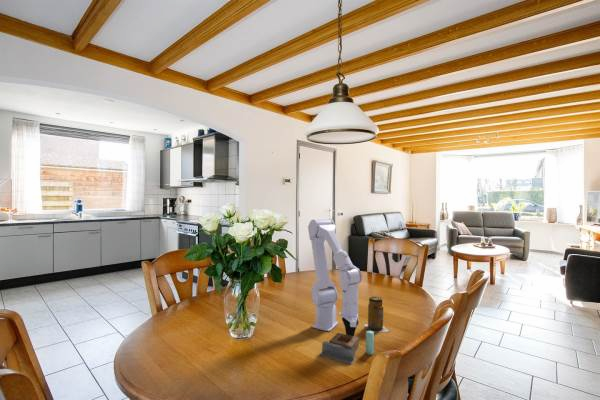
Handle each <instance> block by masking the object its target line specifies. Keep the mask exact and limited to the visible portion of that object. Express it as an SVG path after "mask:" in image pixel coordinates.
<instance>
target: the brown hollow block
mask: <svg viewBox="0 0 600 400" xmlns="http://www.w3.org/2000/svg"><path fill="white" fill-rule="evenodd" d="M328 342H329V343H333V344H336V345H340V346H344V347H348V348H352V349H355V353H356V352H357V350H358V349H359V347H360V337H358V336H355V335H354V336H351V335H346V333H342V332H336V334H335V335H334V336H333V337H332V338H330V340H328Z"/></svg>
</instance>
